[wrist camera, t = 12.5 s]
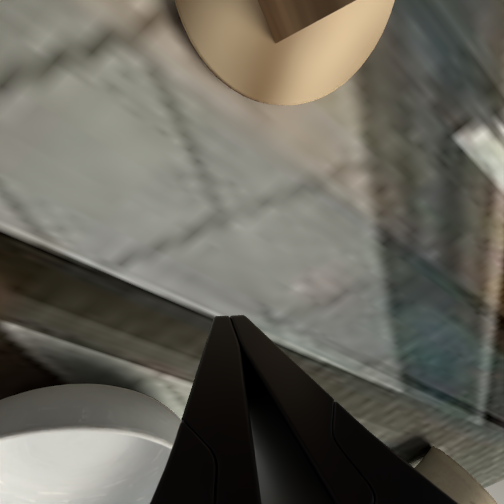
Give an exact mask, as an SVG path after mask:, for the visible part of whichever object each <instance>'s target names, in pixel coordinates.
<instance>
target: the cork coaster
mask: <svg viewBox="0 0 504 504" xmlns="http://www.w3.org/2000/svg"><path fill="white" fill-rule="evenodd" d="M394 1H395V0H356V1H354V2H352V3H350V4H348V5H346V6H345V7H343V8H341V9H339V10H337V11H335V12H333V13H332V14H330V15H328V16H326V17H324V18H322V19H320V20H319V21H317V22H315V23H313V24H311V25H309V26H308V27H306V28H304V29H302V30H300V31H298V32H296V33H295V34H293V35H291V36H289V37H287V38H285V39H283V40H282V41H280V42H278V43H275V41H274V38H273V36H272V34H271V31H270V29H269V26H268V24H267V22H266V19H265V17H264V14H263V12H262V10H261V7H260V5H259V3H258V0H175V4H176V8H177V10H178V13H179V16H180V19H181V22H182V24H183V27H184V29H185V31H186V33H187V35H188V37H189V39H190V41H191V43H192V45H193V46H194V48H195V49H196V51H197V53H198V54H199V56H200V57H201V59H202V60H203V61H204V63H205V64H206V65H207V66H208V68H209V69H210V70H211V71H212V72H213V73H214V74H215V75H216V76H217V77H218V78H219V79H220V80H221V81H222V82H224V83H225V84H226V85H227V86H229V87H230V88H231V89H233V90H234V91H236V92H238V93H239V94H241V95H243V96H245V97H247V98H250V99H252V100H255V101H258V102H262V103H266V104H275V105H297V104H302V103H307V102H311V101H314V100H316V99H319V98H321V97H324V96H325V95H327V94H329V93H331V92H333V91H334V90H336V89H337V88H338V87H340V86H341V85H342V84H344V83H345V82H346V81H347V80H348V79H349V78H350V77H352V76H353V75H354V74H355V73H356V72H357V70H358V69H359V68H360V67H361V66H362V64H363V63H364V62H365V61H366V59H367V58H368V57H369V55H370V54H371V52H372V51H373V49H374V48H375V46H376V44H377V42H378V40H379V38H380V37H381V35H382V33H383V31H384V28H385V26H386V23H387V21H388V19H389V16H390V13H391V10H392V7H393V4H394Z"/></svg>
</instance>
